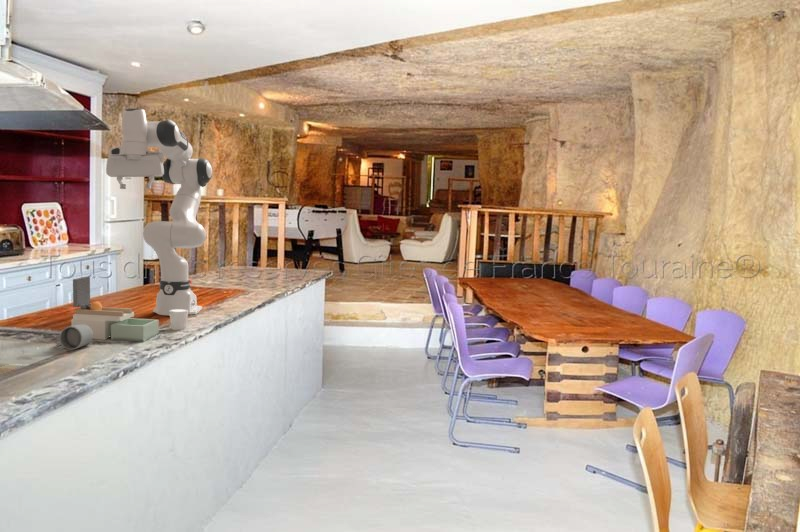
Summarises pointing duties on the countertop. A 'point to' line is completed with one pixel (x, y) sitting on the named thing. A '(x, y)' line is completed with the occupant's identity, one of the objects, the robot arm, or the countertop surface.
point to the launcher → (101, 319)
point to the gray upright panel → (81, 293)
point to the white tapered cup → (178, 319)
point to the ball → (96, 306)
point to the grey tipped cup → (75, 336)
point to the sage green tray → (134, 329)
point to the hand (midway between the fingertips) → (135, 188)
